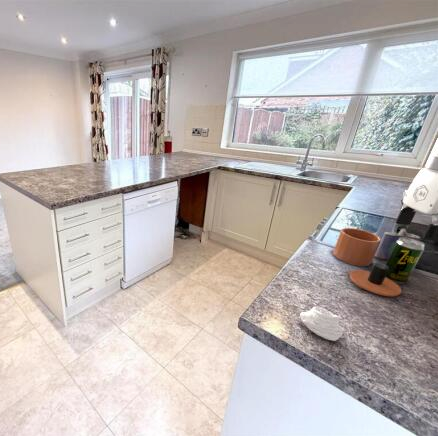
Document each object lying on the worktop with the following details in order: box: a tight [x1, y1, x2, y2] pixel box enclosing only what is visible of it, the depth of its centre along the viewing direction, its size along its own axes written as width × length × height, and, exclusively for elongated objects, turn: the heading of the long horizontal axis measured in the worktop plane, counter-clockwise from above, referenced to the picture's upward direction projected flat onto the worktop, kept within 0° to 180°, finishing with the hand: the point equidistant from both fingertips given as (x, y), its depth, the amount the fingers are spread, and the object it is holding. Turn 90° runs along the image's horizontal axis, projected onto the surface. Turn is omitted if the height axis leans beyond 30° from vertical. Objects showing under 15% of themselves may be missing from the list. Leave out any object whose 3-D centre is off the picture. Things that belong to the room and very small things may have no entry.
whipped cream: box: [299, 306, 346, 342], centre depth 53 cm, size 8×7×5 cm
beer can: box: [385, 237, 426, 285], centre depth 68 cm, size 5×5×12 cm
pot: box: [333, 227, 382, 267], centre depth 79 cm, size 10×10×8 cm
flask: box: [374, 228, 422, 261], centre depth 78 cm, size 9×3×11 cm, turn 74°
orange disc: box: [349, 262, 402, 297], centre depth 66 cm, size 11×11×6 cm
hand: (415, 231), depth 64 cm, fingers open, 9 cm apart
